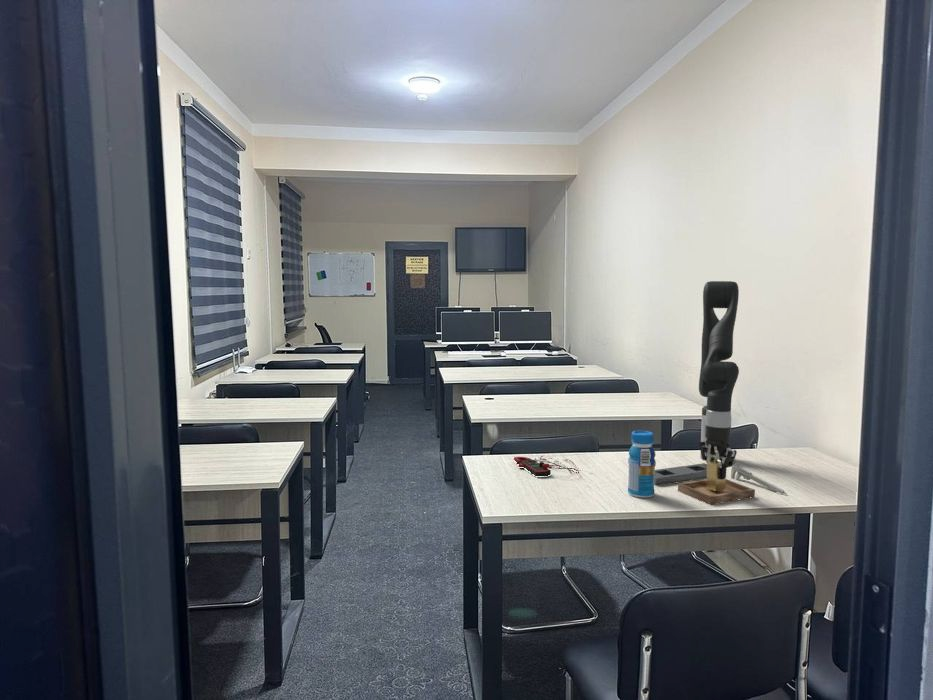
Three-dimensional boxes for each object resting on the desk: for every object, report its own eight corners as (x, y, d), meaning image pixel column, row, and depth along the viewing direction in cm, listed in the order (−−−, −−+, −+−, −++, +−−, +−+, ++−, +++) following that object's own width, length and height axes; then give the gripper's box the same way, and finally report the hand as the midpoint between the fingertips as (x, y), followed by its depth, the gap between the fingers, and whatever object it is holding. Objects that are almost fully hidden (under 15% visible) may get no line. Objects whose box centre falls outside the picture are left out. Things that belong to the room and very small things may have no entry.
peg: (715, 485, 194) (716, 460, 193) (725, 489, 190) (726, 463, 190) (706, 487, 193) (707, 461, 192) (715, 491, 189) (716, 464, 188)
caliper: (730, 479, 208) (731, 461, 208) (732, 478, 209) (733, 461, 208) (785, 496, 190) (786, 477, 190) (787, 496, 191) (788, 476, 190)
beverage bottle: (622, 494, 191) (624, 433, 189) (634, 488, 198) (635, 428, 196) (648, 500, 186) (649, 437, 184) (659, 493, 192) (660, 432, 190)
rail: (703, 469, 218) (704, 463, 218) (720, 476, 210) (720, 469, 210) (640, 478, 208) (640, 471, 207) (655, 485, 200) (656, 478, 200)
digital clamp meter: (536, 470, 205) (509, 451, 228) (536, 482, 205) (509, 463, 229) (597, 463, 212) (564, 446, 236) (597, 476, 212) (564, 457, 236)
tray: (720, 484, 201) (720, 477, 201) (754, 497, 188) (754, 489, 188) (677, 490, 195) (678, 483, 195) (710, 505, 182) (710, 496, 182)
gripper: (745, 427, 184) (742, 482, 186) (710, 418, 197) (708, 469, 199) (726, 429, 182) (724, 485, 183) (692, 420, 195) (690, 472, 196)
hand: (716, 476), depth 191 cm, fingers closed on peg, 4 cm apart
